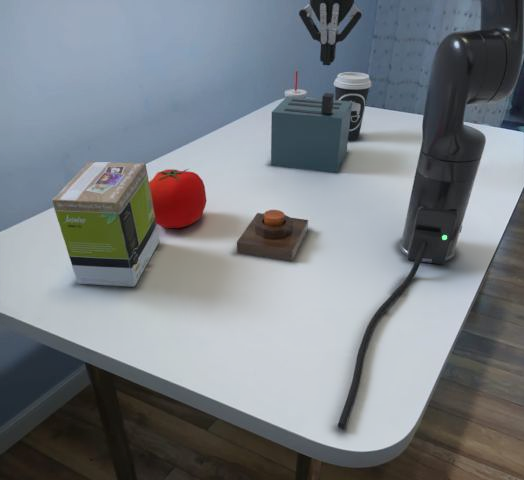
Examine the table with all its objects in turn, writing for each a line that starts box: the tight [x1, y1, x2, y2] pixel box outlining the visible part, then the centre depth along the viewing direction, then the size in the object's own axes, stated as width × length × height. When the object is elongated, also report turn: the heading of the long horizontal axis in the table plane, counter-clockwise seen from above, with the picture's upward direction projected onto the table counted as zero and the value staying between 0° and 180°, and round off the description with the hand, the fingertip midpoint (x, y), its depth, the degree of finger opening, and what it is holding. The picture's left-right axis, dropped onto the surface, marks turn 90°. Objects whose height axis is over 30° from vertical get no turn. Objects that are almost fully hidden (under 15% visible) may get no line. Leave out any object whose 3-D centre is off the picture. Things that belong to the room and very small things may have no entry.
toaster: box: [270, 96, 352, 174], centre depth 118 cm, size 14×16×12 cm
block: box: [236, 212, 309, 262], centre depth 89 cm, size 12×10×4 cm
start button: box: [263, 209, 285, 227], centre depth 87 cm, size 4×4×2 cm
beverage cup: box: [284, 70, 308, 98], centre depth 137 cm, size 6×6×14 cm
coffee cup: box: [333, 71, 372, 142], centre depth 130 cm, size 10×10×15 cm
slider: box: [321, 92, 335, 114], centre depth 109 cm, size 3×2×4 cm
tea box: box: [51, 160, 160, 288], centre depth 80 cm, size 15×10×15 cm, turn 174°
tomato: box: [149, 168, 207, 229], centre depth 93 cm, size 11×13×10 cm
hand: (327, 64), depth 103 cm, fingers closed
